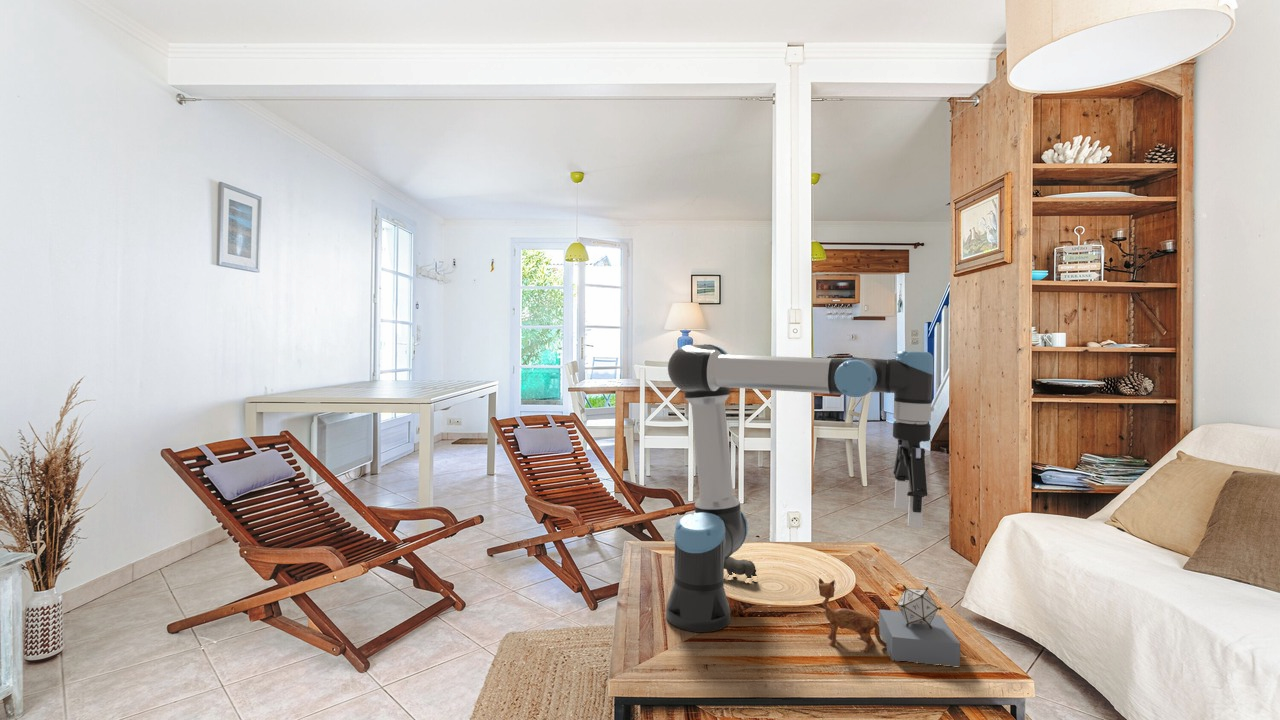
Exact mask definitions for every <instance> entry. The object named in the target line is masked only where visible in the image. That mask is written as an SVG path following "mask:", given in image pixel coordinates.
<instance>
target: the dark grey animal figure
mask: <svg viewBox="0 0 1280 720" xmlns="http://www.w3.org/2000/svg"><path fill="white" fill-rule="evenodd" d="M724 570H726V573H727V575H728V574H729V575H733V573H735V574H736V575H737V576H742V575H745V576H746V579H747V578H753V576H757V577H758V574H756V573H757V569H756V566H755V563H754V562H753V561H751V560H748V559H736V558H734V557H732V556H730V557H728V558H727V559H726V560H725V561H724ZM732 572H733V573H732ZM729 575H728V576H729Z"/></svg>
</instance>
